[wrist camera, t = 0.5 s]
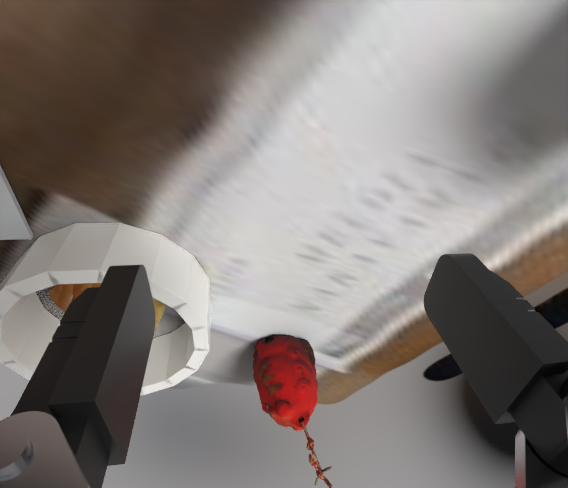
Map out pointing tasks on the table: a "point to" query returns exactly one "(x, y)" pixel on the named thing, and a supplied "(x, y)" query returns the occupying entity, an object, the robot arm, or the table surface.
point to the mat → (11, 214)
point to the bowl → (91, 269)
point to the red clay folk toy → (288, 385)
